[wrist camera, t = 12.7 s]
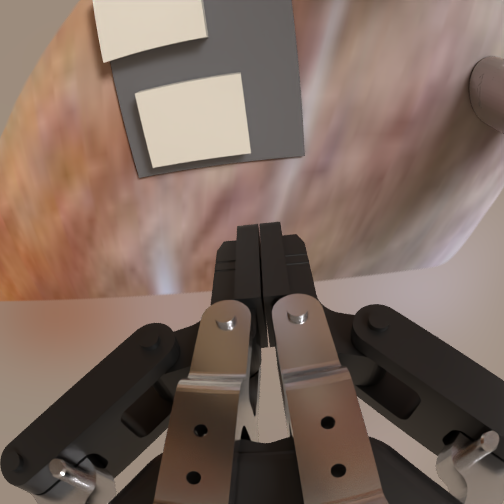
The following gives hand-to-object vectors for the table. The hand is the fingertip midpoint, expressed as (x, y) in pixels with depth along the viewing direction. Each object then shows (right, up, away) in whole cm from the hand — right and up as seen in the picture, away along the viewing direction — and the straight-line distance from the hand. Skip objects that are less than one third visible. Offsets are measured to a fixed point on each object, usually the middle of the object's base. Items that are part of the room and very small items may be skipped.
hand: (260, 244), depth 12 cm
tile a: (-5, +22, +9) cm, 24 cm away
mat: (-5, +18, +14) cm, 23 cm away
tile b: (-1, +13, +17) cm, 21 cm away
